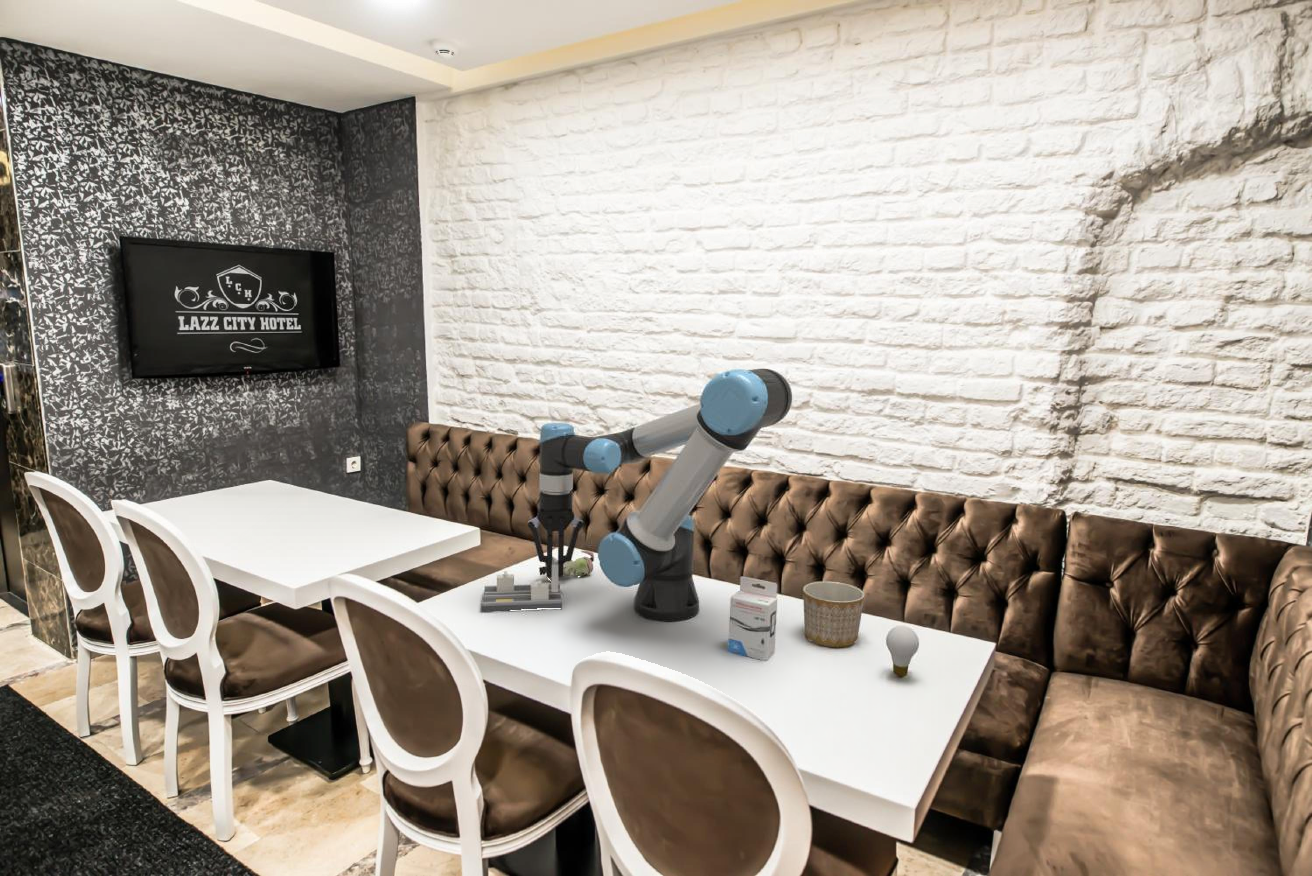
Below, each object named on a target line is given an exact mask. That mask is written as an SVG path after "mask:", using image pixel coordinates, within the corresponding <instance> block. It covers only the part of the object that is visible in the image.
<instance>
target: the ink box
mask: <svg viewBox="0 0 1312 876" xmlns="http://www.w3.org/2000/svg"><path fill="white" fill-rule="evenodd" d="M758 584H759V586H761V587H764V588H760V587H757V586H753V585H758ZM739 589H740V590H738V591H737V592H735V593H734V594H732V595H731V596H730V604H729V605H730V607H729V623H728V625H729V626H728V647H727V650H728V652H730V653H734V654H737V655H741V656H745V657H749V658H753V659H757V660H760V661H764V662H766V661H768V660H769V659H770V658H771V657H772V655H773V654H774V653H775V649H776V634H777V633H776V632H777V613H778V612H777V611H778V598H777V595H778V584H777V583H776V582H772V581H767V580H762V579H757V578H753V577H747V576H744V575H743V576H740V577H739Z"/></svg>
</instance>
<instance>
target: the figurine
mask: <svg viewBox="0 0 1312 876" xmlns="http://www.w3.org/2000/svg"><path fill="white" fill-rule="evenodd" d="M580 552H581V553H583V554H586V555H589V556H590V557H588V556H583V557H579V558H576V559H575V560H572V559H571V561H569V562H565V563H564V565H563V576H565V577H566V576H567V577H569V576H570V575H573V576H576V575H577V576H581V575H584V576H586V575H588V574H591V573H592V572H593V571H594V563H593V562H594V561H595V555H594V552H592V551H589V550H587V549H586V550H581V551H580ZM552 561H558V558H556V557H554V556H553V555H552ZM544 565H545V566H540V567H538V569H539V575H540V576H544V575H546V577H547V564H546V563H544ZM581 577H582V576H581ZM548 578H549V579H550V580H551V577H548Z"/></svg>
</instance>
